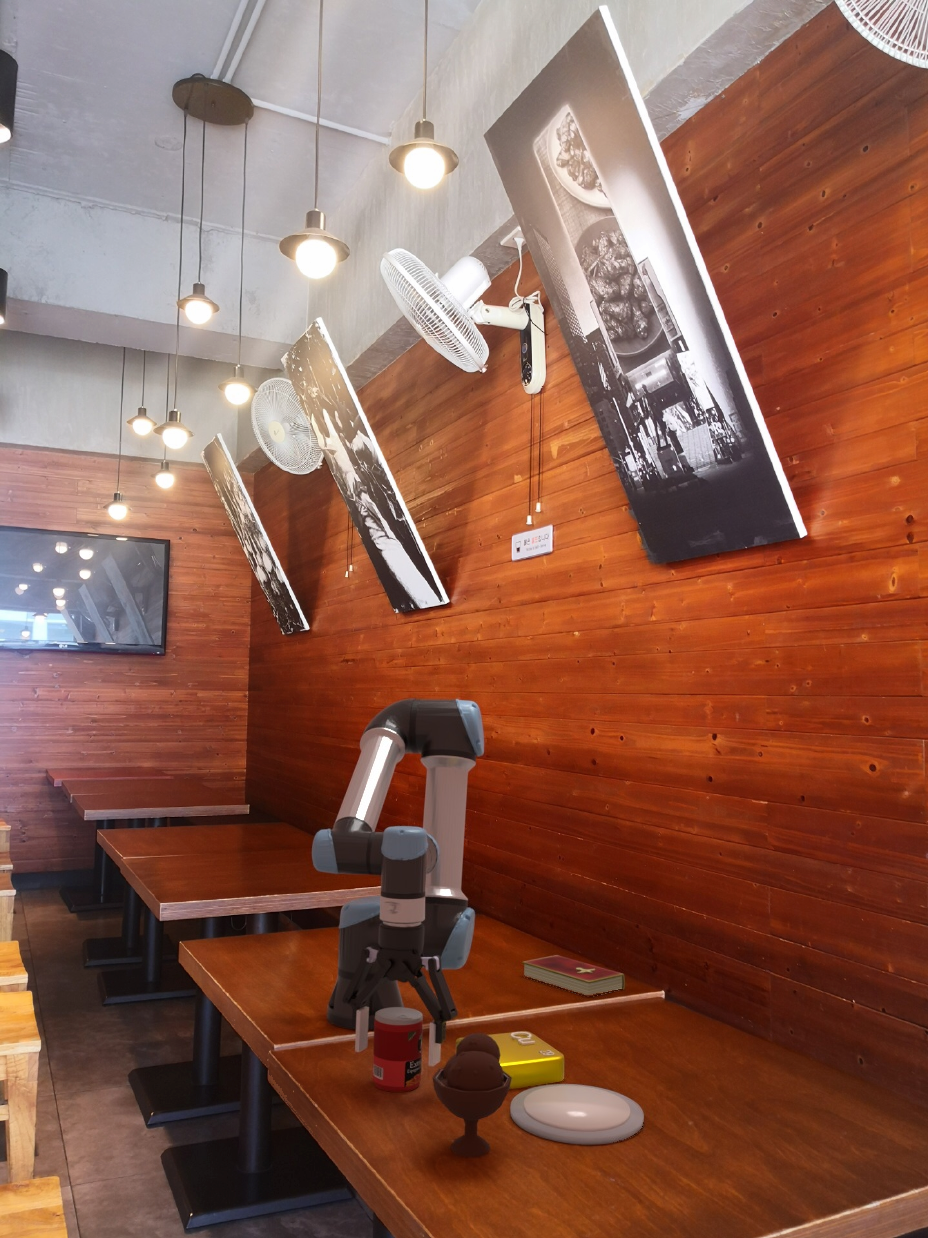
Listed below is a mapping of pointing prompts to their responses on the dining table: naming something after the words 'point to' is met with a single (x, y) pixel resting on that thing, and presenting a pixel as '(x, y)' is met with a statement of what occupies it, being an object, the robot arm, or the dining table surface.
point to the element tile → (528, 1059)
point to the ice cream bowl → (472, 1089)
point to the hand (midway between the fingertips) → (397, 1057)
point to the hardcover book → (574, 975)
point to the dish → (576, 1114)
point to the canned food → (397, 1049)
